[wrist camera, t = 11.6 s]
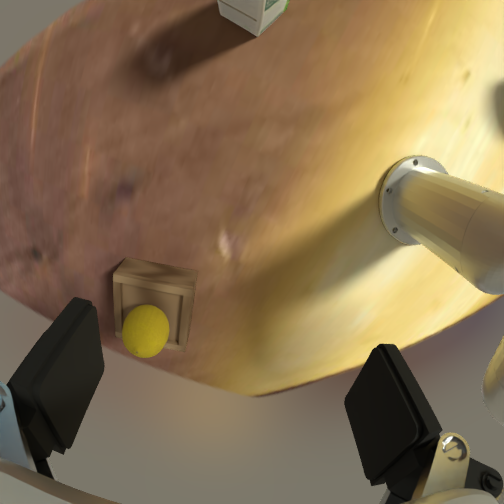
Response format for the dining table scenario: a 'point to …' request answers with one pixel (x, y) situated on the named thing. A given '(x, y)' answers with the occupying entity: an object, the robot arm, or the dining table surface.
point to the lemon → (145, 331)
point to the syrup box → (252, 13)
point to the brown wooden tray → (156, 296)
